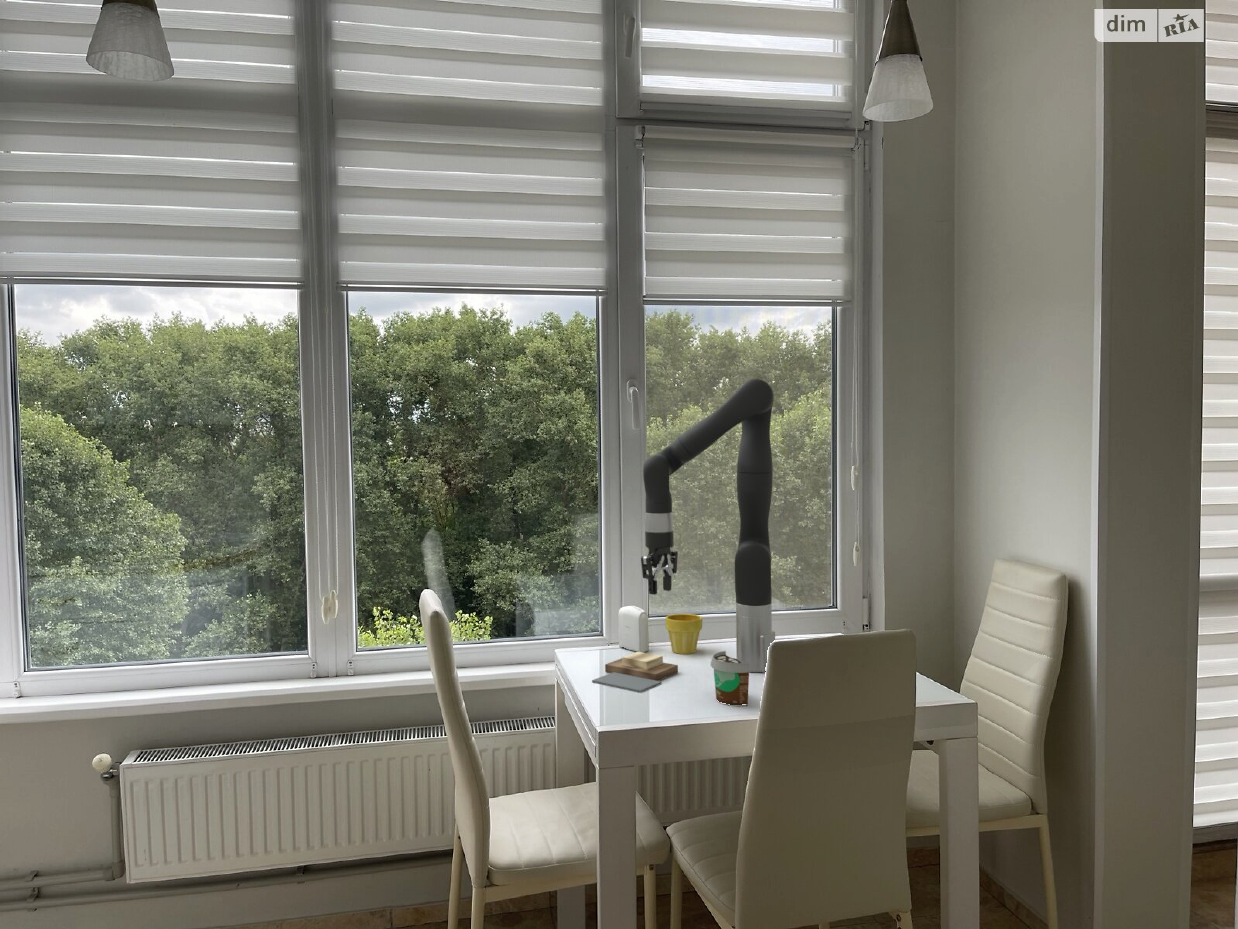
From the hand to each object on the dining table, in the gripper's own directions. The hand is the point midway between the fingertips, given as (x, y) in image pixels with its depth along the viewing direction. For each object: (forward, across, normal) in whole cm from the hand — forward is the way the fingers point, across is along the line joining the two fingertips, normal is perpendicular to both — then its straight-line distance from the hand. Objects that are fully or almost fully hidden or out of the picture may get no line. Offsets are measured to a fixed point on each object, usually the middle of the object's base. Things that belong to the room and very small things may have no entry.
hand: (660, 592), depth 229 cm
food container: (+20, -17, -30) cm, 40 cm away
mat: (+19, -19, -2) cm, 27 cm away
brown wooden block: (+19, -9, 0) cm, 21 cm away
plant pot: (+20, +15, +3) cm, 25 cm away
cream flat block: (+17, -8, 0) cm, 19 cm away
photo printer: (+20, +9, +16) cm, 27 cm away
